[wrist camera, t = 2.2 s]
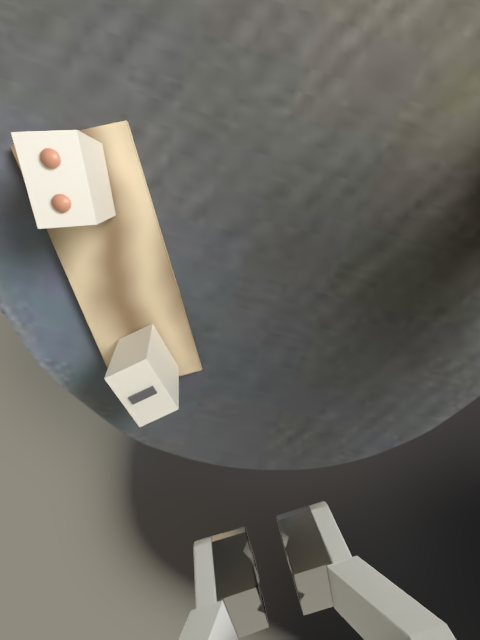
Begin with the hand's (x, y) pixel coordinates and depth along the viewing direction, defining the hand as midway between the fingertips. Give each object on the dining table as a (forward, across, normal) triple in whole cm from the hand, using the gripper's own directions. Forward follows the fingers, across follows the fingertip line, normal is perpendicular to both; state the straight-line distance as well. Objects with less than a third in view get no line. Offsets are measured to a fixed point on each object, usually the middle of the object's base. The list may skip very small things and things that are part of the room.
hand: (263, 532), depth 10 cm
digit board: (+29, +8, -3) cm, 30 cm away
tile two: (+28, +8, -12) cm, 31 cm away
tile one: (+28, +8, +6) cm, 30 cm away
